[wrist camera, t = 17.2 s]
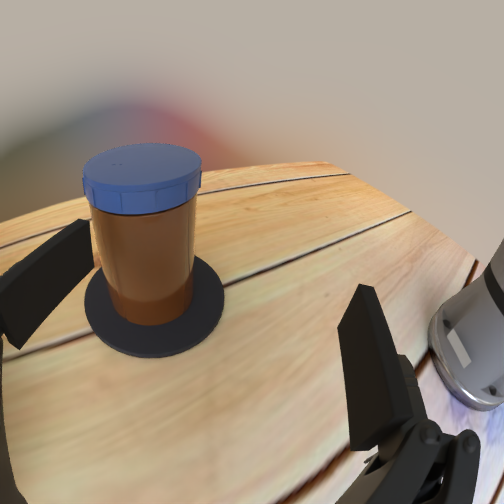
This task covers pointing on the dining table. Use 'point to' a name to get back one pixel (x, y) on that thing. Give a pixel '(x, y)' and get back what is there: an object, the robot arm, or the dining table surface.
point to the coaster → (158, 336)
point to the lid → (142, 178)
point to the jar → (148, 261)
